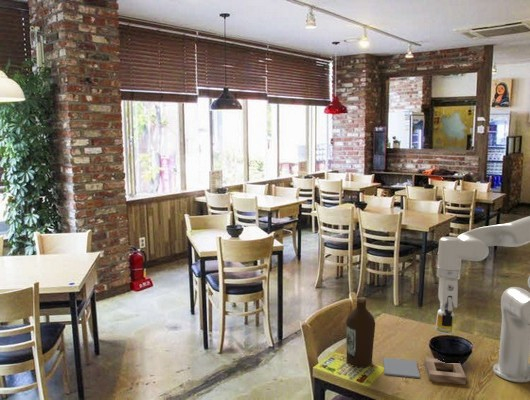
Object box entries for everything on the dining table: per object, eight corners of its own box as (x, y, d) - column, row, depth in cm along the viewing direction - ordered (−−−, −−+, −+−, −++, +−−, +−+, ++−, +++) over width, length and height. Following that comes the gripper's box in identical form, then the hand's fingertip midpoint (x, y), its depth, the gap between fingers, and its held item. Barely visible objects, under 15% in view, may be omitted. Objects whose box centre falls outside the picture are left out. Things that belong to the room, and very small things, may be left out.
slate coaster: (415, 362, 176) (415, 360, 176) (419, 378, 165) (419, 376, 165) (383, 358, 179) (383, 357, 179) (384, 374, 167) (384, 373, 167)
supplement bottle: (453, 335, 163) (456, 309, 161) (436, 333, 164) (440, 307, 162) (450, 329, 168) (453, 303, 166) (434, 327, 169) (437, 301, 167)
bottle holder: (458, 367, 173) (459, 360, 172) (465, 384, 161) (466, 377, 161) (424, 364, 175) (424, 357, 174) (429, 380, 163) (429, 374, 163)
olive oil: (364, 353, 183) (367, 291, 179) (379, 366, 173) (381, 301, 169) (340, 357, 180) (341, 294, 176) (353, 370, 170) (355, 304, 166)
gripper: (465, 281, 154) (461, 333, 156) (454, 266, 170) (451, 314, 173) (441, 279, 155) (437, 331, 158) (433, 265, 172) (430, 312, 174)
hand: (445, 321), depth 165 cm, fingers closed on supplement bottle, 5 cm apart
